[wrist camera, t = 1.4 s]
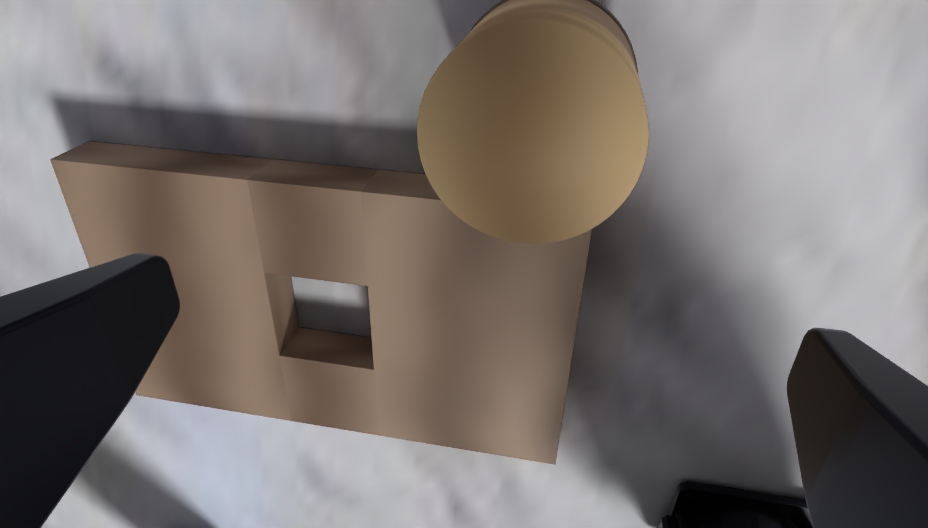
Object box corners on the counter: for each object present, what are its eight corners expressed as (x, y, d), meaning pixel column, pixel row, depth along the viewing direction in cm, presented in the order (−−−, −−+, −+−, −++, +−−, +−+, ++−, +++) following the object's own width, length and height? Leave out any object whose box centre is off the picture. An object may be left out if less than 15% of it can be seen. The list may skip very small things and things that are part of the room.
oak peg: (648, -16, 17) (674, 26, 12) (618, 156, 20) (628, 257, 14) (469, -25, 18) (412, 10, 12) (465, 142, 21) (416, 233, 15)
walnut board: (594, 190, 21) (593, 216, 19) (557, 429, 27) (555, 464, 26) (88, 141, 24) (50, 159, 22) (161, 367, 30) (136, 395, 28)
